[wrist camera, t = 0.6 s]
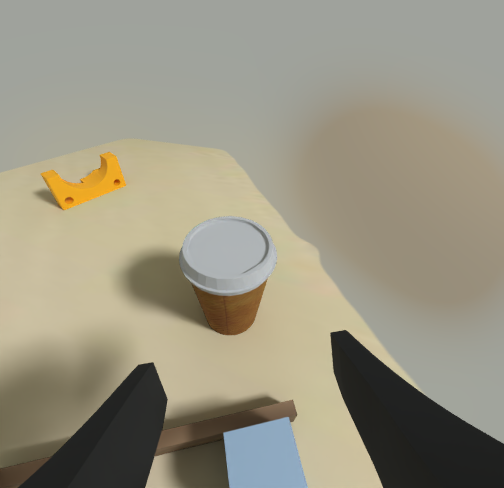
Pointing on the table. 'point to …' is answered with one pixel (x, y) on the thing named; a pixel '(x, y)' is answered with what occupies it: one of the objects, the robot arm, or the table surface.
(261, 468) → the block
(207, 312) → the disposable coffee cup
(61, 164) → the table surface
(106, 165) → the pipe clamp
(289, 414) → the guide rail
